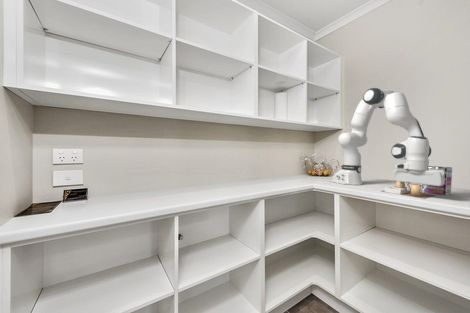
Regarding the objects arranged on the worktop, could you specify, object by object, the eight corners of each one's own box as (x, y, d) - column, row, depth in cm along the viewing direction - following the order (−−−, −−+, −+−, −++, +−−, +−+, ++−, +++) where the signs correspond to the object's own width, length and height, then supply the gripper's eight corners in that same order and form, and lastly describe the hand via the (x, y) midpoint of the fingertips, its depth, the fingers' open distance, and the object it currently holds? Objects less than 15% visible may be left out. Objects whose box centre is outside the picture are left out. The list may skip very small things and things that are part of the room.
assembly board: (379, 192, 114) (379, 191, 114) (392, 190, 121) (392, 188, 121) (424, 200, 97) (424, 198, 96) (436, 197, 104) (436, 195, 104)
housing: (384, 191, 112) (384, 181, 112) (396, 189, 119) (396, 179, 119) (400, 194, 106) (400, 183, 106) (411, 192, 112) (411, 181, 112)
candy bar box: (451, 196, 106) (453, 167, 106) (445, 197, 105) (446, 167, 105) (427, 192, 117) (428, 165, 117) (421, 192, 116) (422, 165, 116)
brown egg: (409, 195, 104) (409, 184, 104) (412, 194, 106) (413, 183, 106) (419, 196, 100) (419, 185, 100) (422, 196, 102) (422, 184, 102)
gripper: (447, 167, 95) (445, 195, 95) (396, 164, 113) (396, 187, 113) (442, 168, 92) (441, 196, 92) (391, 165, 110) (390, 188, 110)
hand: (415, 191), depth 103 cm, fingers closed on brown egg, 4 cm apart
